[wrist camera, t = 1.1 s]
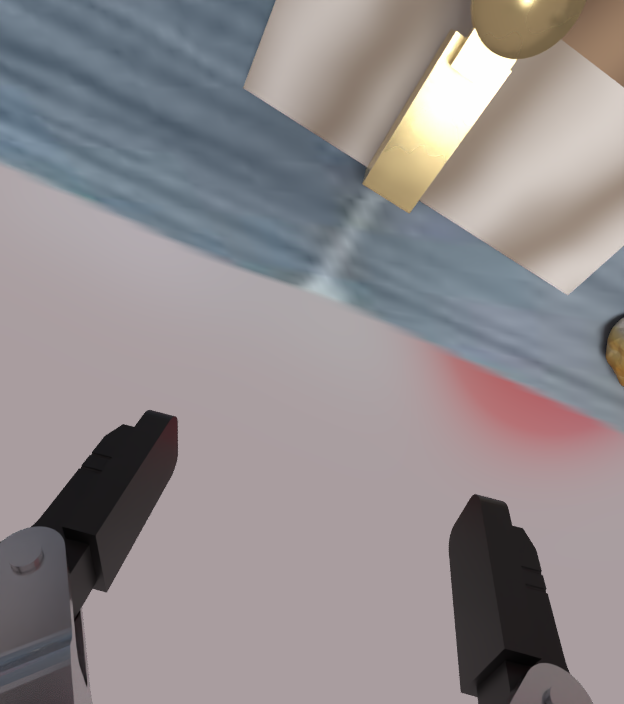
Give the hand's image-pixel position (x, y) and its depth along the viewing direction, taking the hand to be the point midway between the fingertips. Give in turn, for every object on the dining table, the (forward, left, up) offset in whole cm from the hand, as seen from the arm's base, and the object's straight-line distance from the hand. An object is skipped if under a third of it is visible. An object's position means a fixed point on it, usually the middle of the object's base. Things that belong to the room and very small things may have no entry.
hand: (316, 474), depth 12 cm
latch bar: (0, +8, -18) cm, 20 cm away
